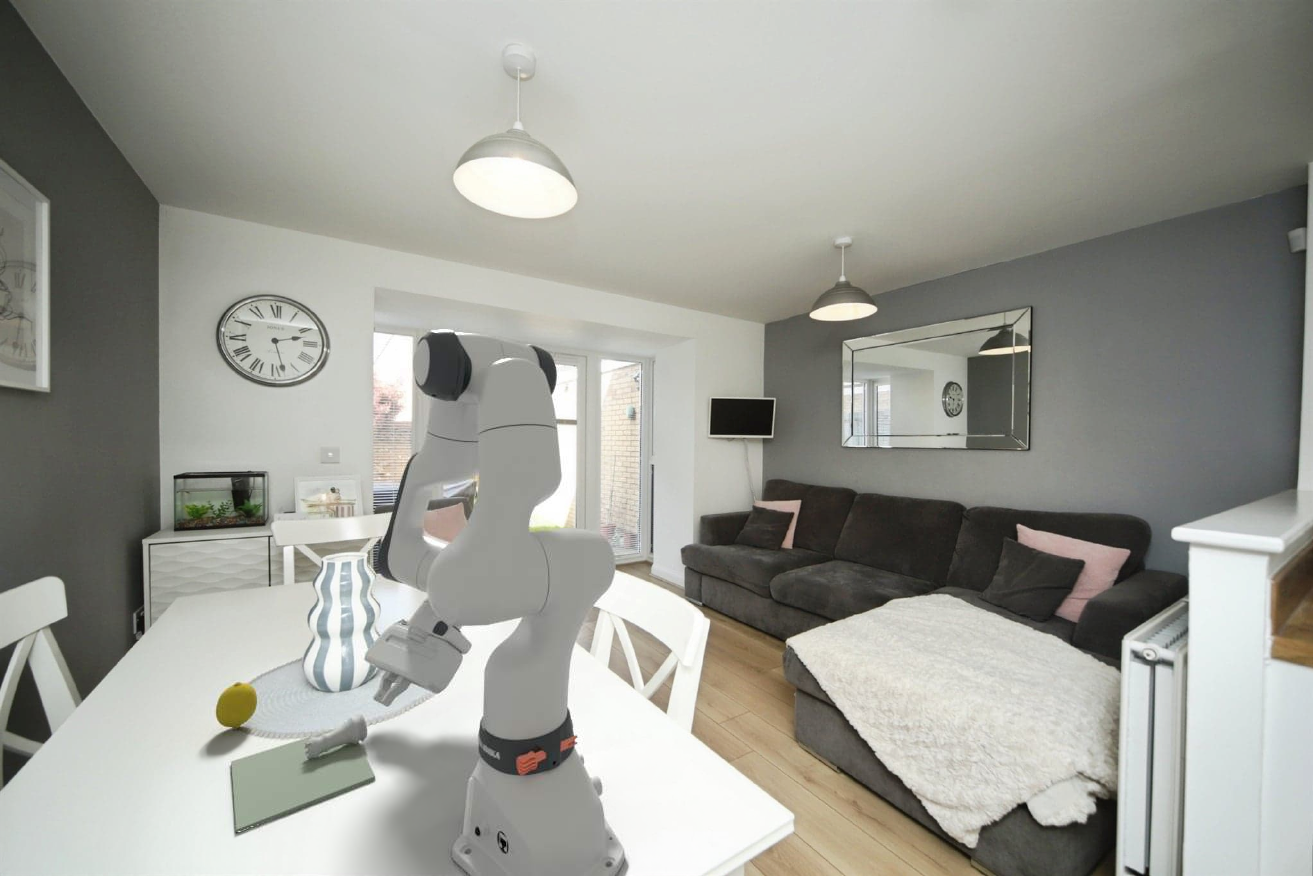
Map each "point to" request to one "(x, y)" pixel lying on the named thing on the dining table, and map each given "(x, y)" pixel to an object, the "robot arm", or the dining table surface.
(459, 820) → the dining table surface
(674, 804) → the dining table surface
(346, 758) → the grayish green thin book
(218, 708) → the lemon
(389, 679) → the robot arm
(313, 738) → the rook chess piece
